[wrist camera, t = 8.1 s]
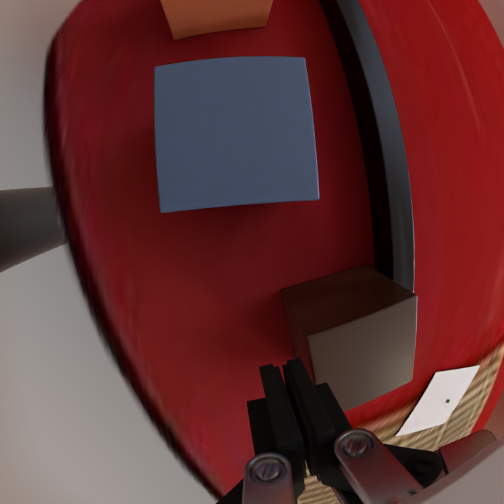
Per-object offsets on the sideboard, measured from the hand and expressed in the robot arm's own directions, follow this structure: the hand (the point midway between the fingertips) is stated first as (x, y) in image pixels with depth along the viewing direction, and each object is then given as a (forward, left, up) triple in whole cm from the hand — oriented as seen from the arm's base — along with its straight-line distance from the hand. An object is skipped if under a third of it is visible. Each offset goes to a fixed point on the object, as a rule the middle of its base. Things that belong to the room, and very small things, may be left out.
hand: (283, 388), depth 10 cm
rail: (+7, +10, -5) cm, 13 cm away
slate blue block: (0, +10, -5) cm, 11 cm away
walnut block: (+4, 0, -5) cm, 6 cm away
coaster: (+15, -14, -5) cm, 21 cm away
